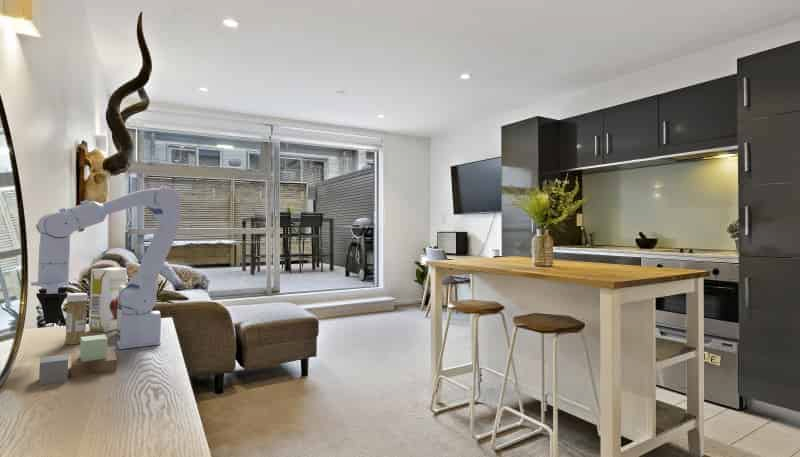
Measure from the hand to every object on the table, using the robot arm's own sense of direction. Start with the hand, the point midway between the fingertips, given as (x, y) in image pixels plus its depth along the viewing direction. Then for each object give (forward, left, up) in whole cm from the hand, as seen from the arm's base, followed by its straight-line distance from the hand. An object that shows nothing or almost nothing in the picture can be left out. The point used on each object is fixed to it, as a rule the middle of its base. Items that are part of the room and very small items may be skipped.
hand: (51, 320), depth 101 cm
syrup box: (-18, -19, -10) cm, 28 cm away
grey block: (-1, +17, -10) cm, 20 cm away
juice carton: (-13, -29, -10) cm, 33 cm away
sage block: (-8, +13, -7) cm, 17 cm away
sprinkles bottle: (-5, -15, -10) cm, 18 cm away
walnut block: (-8, +13, -10) cm, 18 cm away
